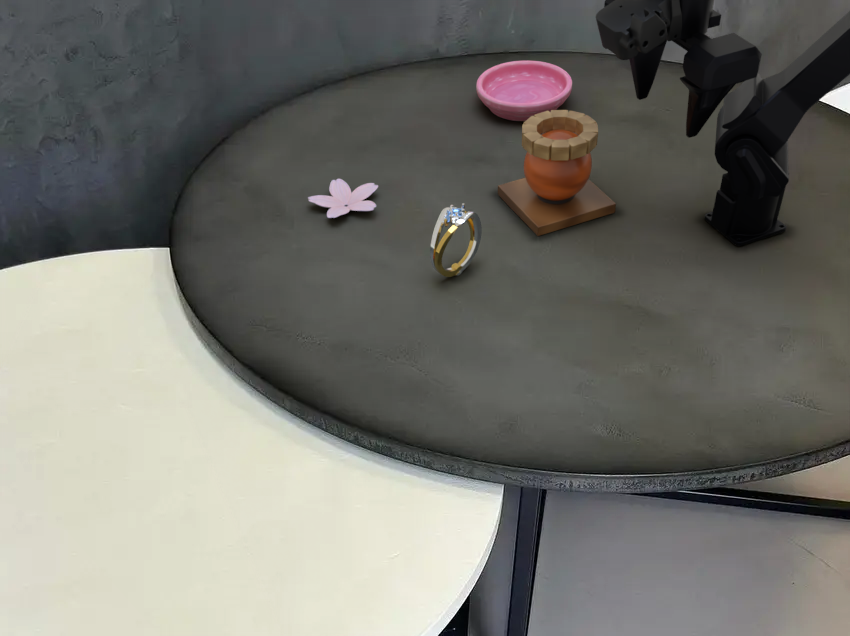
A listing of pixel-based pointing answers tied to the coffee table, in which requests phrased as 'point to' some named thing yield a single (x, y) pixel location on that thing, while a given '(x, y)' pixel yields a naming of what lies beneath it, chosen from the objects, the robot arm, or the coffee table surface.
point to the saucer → (523, 89)
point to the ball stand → (556, 191)
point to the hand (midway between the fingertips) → (665, 116)
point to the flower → (345, 198)
